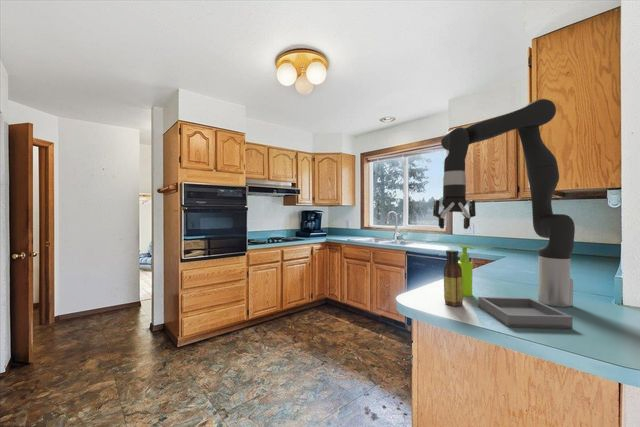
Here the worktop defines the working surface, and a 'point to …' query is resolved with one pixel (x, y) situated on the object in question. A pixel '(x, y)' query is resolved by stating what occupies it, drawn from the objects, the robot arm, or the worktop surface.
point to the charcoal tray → (524, 313)
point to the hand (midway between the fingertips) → (453, 228)
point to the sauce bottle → (453, 280)
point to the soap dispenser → (466, 271)
